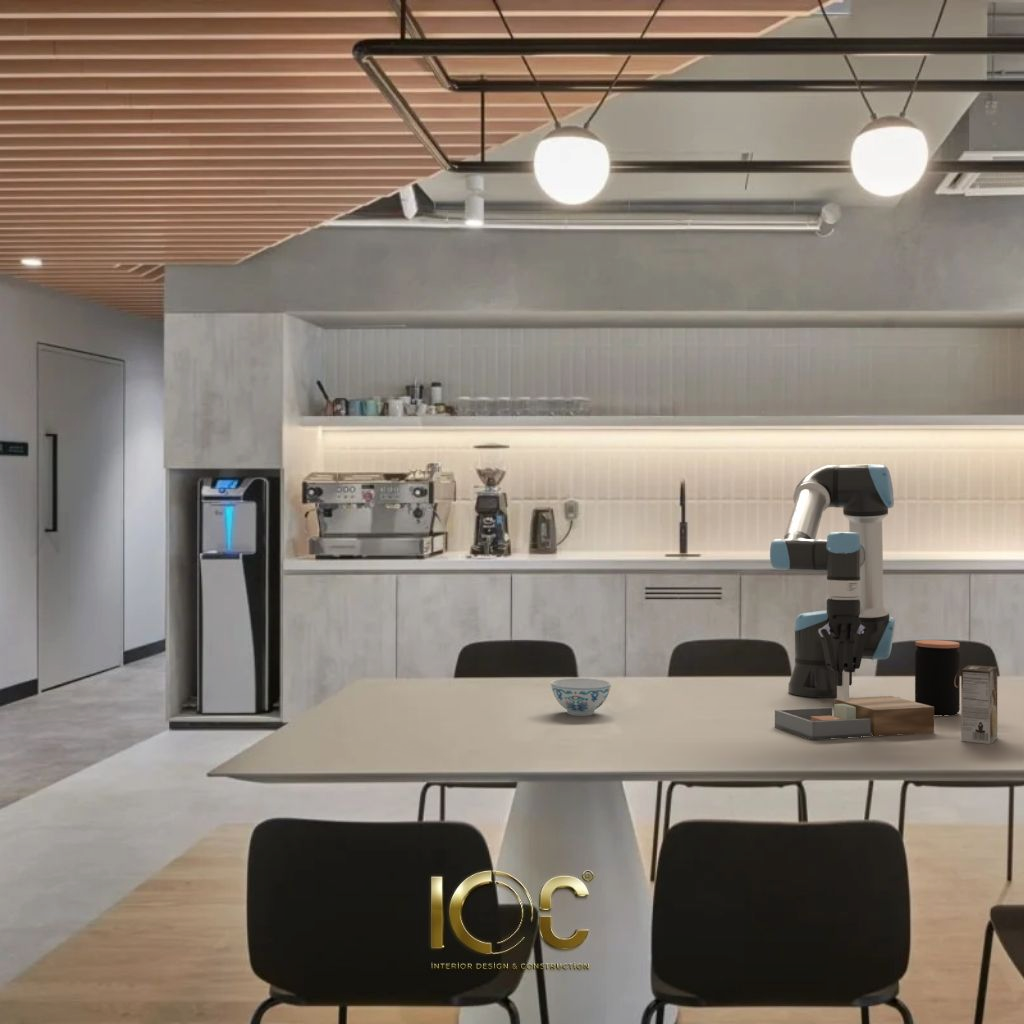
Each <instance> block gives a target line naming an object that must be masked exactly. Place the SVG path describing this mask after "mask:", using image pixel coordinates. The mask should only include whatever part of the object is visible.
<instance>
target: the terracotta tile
mask: <svg viewBox="0 0 1024 1024" xmlns="http://www.w3.org/2000/svg"><path fill="white" fill-rule="evenodd" d="M831 720H842V719H839V718H836V717H834V715H832V716H830V715H829V716H811V721H831Z"/></svg>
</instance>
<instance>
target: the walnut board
mask: <svg viewBox="0 0 1024 1024" xmlns="http://www.w3.org/2000/svg"><path fill="white" fill-rule="evenodd" d="M834 704H846V705H850V706H853V707H856V719H867V718H869V719H870V733H872V735H873V736H872V737H874V736H875V737H880V736H879V735H892V736H898V735H897V734H908V735H916V734H915V733H925V734H934V733H935V716H934V707H933V706H929V705H925V704H921V703H917V702H915V701H912V700H909V699H904V698H901V697H897V696H893V695H885V696H884V695H883V696H882V695H881V696H864V697H860V696H859V697H849V701H842V700H839V699H837V698H833V705H834ZM933 732H934V733H933Z"/></svg>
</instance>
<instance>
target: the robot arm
mask: <svg viewBox="0 0 1024 1024" xmlns="http://www.w3.org/2000/svg"><path fill="white" fill-rule="evenodd" d="M793 504H794V505H793V508H792V511H791V514H790V518H789V520H788V524H787V527H786V529H785V533H784V536H783V537H782V538H775V539H772V541H771V542H770V547H769V549H770V550H769V558H770V559H769V560H770V565H771V567H772V568H774V569H775V570H786V571H790V570H791V571H799V570H800V571H826V595H825V596H827V597H828V599H827V600H826V610H817V611H808V612H804V613H799V614H798V615H797V616H796V617H795V622H794V623H795V624H794V630H793V631H794V666H793V667H794V668H793V670H792V673H791V676H790V679H789V682H788V687H787V689H788V691H787V692H788V693H789V694H790V695H794V696H800V697H809V698H810V697H811V698H836V699H839V700H842V701H849V698H850V686H852V684H853V673H855V672H856V670H857V669H858V670H859V669H860V667H861V664H862V663H861V662H862V659H863V660H872V661H873V660H887V659H888V658H889V657H890V656H891V651H892V647H893V640H894V633H895V625H896V624H895V623H896V618H894V617H892V616H890V610H889V608H887V607H886V606H885V605H884V562H883V561H884V557H883V556H884V555H883V553H884V552H883V551H884V549H883V547H884V546H883V520H884V519H885V517H887V516H888V515H889V509H891V508H893V507H894V504H895V500H894V488H893V482H892V477H891V473H890V470H889V468H888V467H887V466H886V465H885V464H875V463H874V464H873V463H862V464H859V463H858V464H829V465H824V466H822V467H818V468H816V469H815V470H813V471H811V472H809V473H808V474H807V475H806V476H804V477H803V478H802V479H801V480H800V481H799V483H798V484H797V485H796V487H795V490H794V492H793ZM828 508H839V509H840V508H842V513H843V516H844V517H846V518H847V520H848V522H849V523H848V526H849V527H848V528H849V530H848V531H831V532H829V533H828V534H827V536H826V538H827V539H816V538H817V534H818V530H819V527H820V525H821V524H820V523H821V521H822V517H823V513H824V512H825V511H826V510H827V509H828Z"/></svg>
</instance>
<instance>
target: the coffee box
mask: <svg viewBox="0 0 1024 1024" xmlns="http://www.w3.org/2000/svg"><path fill="white" fill-rule="evenodd" d="M960 673H961V674H960V676H961V677H960V679H961V680H960V686H961V690H960V693H961V695H960V697H961V703H960V705H961V706H960V710H961V711H960V712H961V717H960V718H961V721H960V722H961V723H960V727H961V729H960V730H961V732H960V734H961V735H960V736H961V737H960V738H961V739H960V740H961V742H965V741H966V743H974V744H975V743H976V744H985V745H986V744H987V745H991V744H992V743H993V742H994V741H995V740H996V739H997V738H998V666H988V665H974V664H973V665H971V664H968V665H967V666H965V667H964V668H962V669H961V670H960Z"/></svg>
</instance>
